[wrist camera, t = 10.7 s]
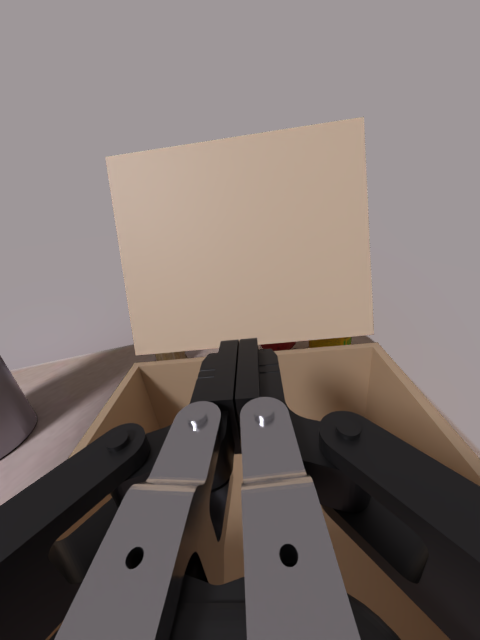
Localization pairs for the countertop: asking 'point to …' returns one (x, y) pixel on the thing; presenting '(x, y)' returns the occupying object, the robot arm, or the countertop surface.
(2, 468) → the countertop surface
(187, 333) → the carton flap
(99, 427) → the carton
